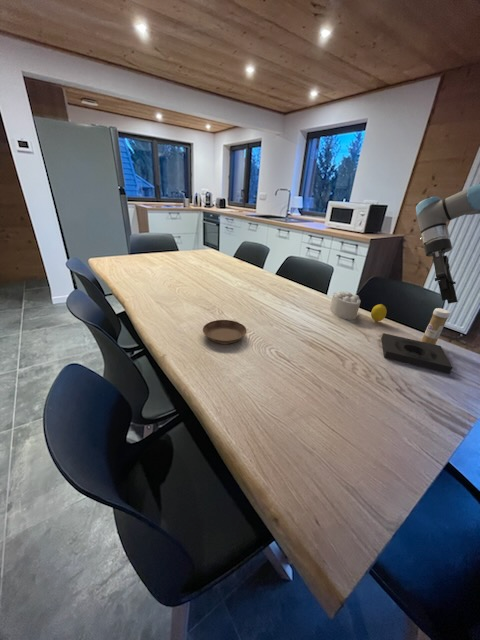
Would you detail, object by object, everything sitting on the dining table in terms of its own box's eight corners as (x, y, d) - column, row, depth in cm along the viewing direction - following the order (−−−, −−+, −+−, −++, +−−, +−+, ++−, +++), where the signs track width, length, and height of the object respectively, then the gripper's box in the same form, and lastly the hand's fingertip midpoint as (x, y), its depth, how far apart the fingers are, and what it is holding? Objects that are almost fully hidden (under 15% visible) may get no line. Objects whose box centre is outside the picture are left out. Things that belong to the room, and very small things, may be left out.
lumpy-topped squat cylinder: (349, 308, 123) (354, 290, 119) (361, 320, 111) (367, 301, 107) (327, 306, 122) (331, 289, 118) (337, 318, 110) (342, 299, 107)
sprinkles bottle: (417, 341, 97) (431, 308, 92) (426, 340, 99) (441, 307, 93) (428, 347, 94) (444, 313, 88) (438, 346, 95) (454, 312, 89)
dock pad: (437, 351, 91) (440, 345, 90) (449, 374, 79) (452, 367, 78) (381, 338, 97) (383, 332, 96) (384, 358, 85) (386, 351, 84)
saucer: (199, 345, 83) (199, 338, 82) (206, 324, 97) (206, 318, 96) (245, 349, 84) (246, 341, 82) (246, 327, 97) (246, 321, 96)
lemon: (383, 321, 112) (389, 303, 108) (382, 325, 107) (388, 307, 104) (369, 317, 114) (375, 300, 111) (367, 322, 110) (373, 304, 106)
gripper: (430, 253, 103) (442, 306, 100) (416, 237, 86) (430, 301, 83) (454, 246, 98) (467, 301, 95) (444, 227, 81) (461, 295, 77)
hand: (450, 301), depth 89 cm, fingers open, 13 cm apart
